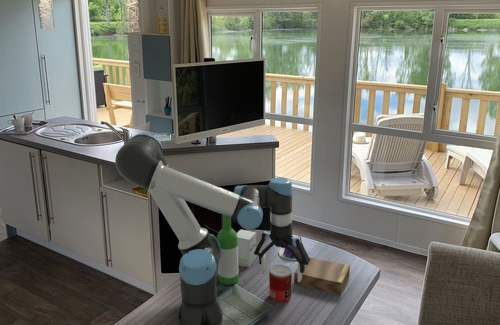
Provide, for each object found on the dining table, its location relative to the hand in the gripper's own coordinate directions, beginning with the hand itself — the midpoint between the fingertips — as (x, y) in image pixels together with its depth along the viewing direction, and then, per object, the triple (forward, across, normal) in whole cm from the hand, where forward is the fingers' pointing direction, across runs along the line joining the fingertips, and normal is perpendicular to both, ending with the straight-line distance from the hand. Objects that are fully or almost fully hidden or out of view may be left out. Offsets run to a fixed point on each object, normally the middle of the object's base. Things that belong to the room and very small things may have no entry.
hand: (281, 276), depth 168 cm
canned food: (+9, 0, 0) cm, 9 cm away
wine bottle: (+8, +22, -2) cm, 24 cm away
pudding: (+9, +7, -31) cm, 33 cm away
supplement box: (+8, +22, -17) cm, 29 cm away
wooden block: (+9, -10, -16) cm, 21 cm away
